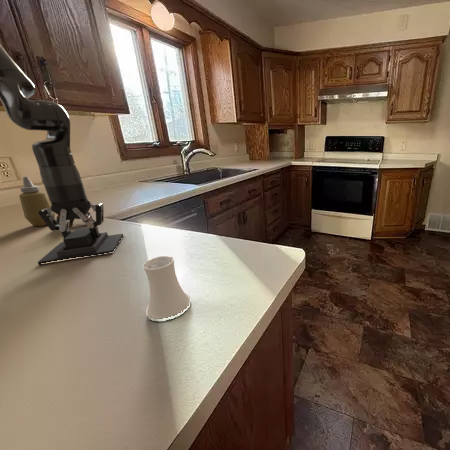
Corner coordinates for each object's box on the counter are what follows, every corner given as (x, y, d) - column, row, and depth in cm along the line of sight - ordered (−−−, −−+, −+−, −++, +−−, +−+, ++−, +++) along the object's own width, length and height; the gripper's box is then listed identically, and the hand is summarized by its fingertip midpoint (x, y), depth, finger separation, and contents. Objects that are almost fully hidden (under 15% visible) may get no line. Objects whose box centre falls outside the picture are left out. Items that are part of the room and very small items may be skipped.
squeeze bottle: (27, 229, 88) (6, 179, 82) (30, 224, 94) (10, 176, 88) (57, 224, 93) (40, 176, 87) (58, 219, 99) (42, 174, 93)
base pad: (38, 265, 63) (35, 257, 62) (62, 245, 75) (59, 237, 74) (113, 253, 69) (110, 245, 68) (123, 236, 81) (122, 229, 80)
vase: (186, 318, 44) (176, 270, 40) (140, 325, 42) (125, 276, 39) (194, 294, 51) (186, 250, 47) (154, 299, 49) (143, 254, 46)
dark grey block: (66, 249, 66) (62, 239, 65) (79, 237, 74) (75, 228, 73) (89, 246, 68) (86, 236, 67) (99, 235, 76) (96, 226, 75)
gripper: (100, 178, 71) (116, 232, 77) (35, 182, 66) (57, 240, 72) (91, 182, 65) (109, 241, 71) (19, 187, 59) (45, 250, 65)
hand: (83, 240), depth 71 cm, fingers closed on dark grey block, 5 cm apart
